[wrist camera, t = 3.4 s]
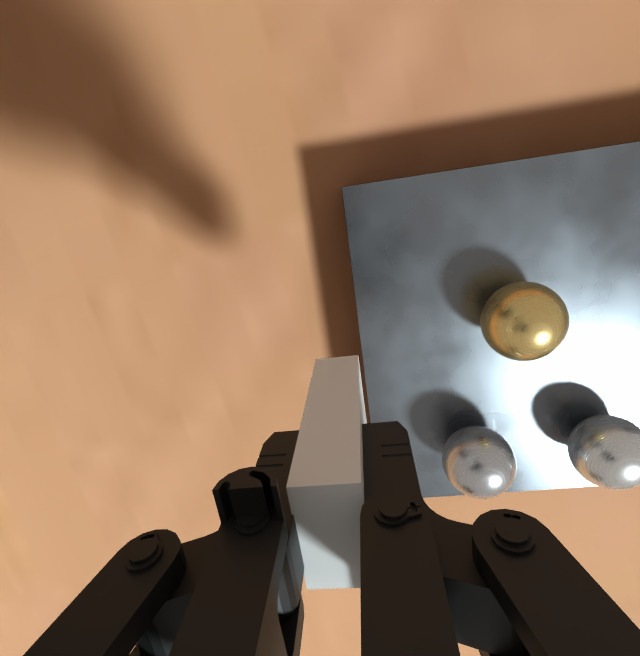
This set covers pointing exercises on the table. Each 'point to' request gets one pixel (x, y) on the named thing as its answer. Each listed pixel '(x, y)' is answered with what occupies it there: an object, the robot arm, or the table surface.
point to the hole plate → (479, 284)
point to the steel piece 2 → (606, 451)
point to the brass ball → (524, 321)
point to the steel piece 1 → (479, 462)
